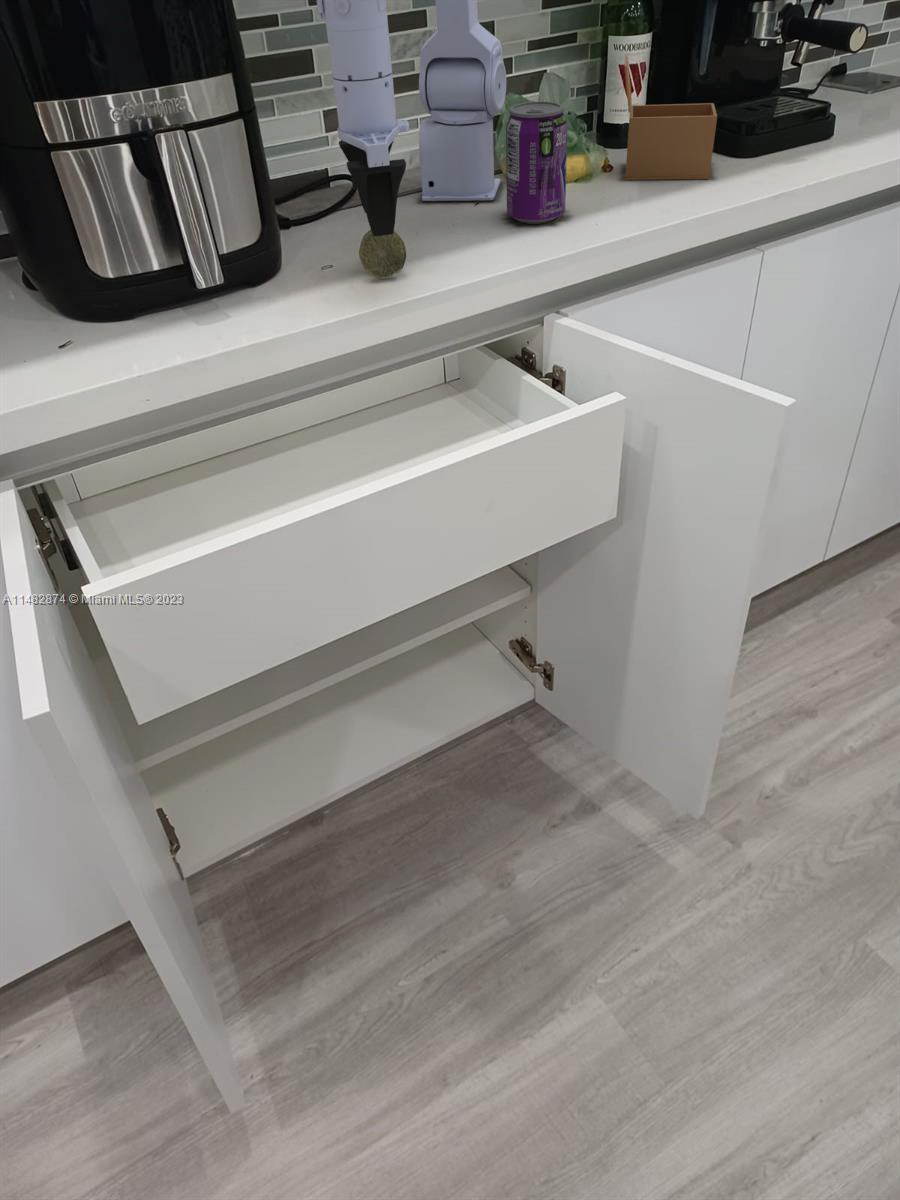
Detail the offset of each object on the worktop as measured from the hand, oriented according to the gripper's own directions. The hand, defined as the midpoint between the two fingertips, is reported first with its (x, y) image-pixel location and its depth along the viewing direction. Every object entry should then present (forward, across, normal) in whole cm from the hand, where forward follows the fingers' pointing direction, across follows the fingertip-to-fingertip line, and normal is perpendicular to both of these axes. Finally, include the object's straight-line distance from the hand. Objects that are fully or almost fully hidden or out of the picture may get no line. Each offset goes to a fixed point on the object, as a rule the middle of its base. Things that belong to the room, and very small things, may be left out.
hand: (378, 222), depth 92 cm
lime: (+6, 0, 0) cm, 6 cm away
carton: (+6, +24, -42) cm, 48 cm away
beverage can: (+6, +12, -20) cm, 24 cm away
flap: (-5, +26, -36) cm, 45 cm away
